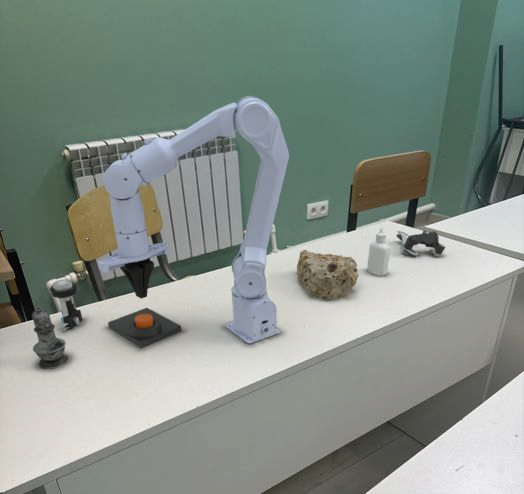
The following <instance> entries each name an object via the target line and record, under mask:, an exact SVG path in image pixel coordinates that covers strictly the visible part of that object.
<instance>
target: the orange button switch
mask: <svg viewBox="0 0 524 494" xmlns="http://www.w3.org/2000/svg"><path fill="white" fill-rule="evenodd" d="M140 314H150V315H152V317H153V326H151V327H148V328H137V327H136V324H135V317H136V316H138V315H140ZM107 326H108V329H110V330H112V331H113V332H115V333H116V334H118V335H120V336H121V337H122V338H123V339H125V340H127V341H129V342H131V343H132V344H133V345H135V346H136V347H138V348H140V349H143V348H145V347H148V346H151V345H153V344H155V343H158V342H159V341H162V340H165V339H167V338H169V337H172V336H174V335H176V334H179V333H181V332H182V325H181V324H179V323H176V322H174V321H173V320H171V319H169V318H167V317H166V316H163V315H162V314H160V313H158V312H156V311H155V310H152V309H150V308H148V307H145V308H142V309H139V310H137V311H134V312H131V313H128V314H126V315H124V316H120V317H118V318H116V319H113V320H110V321H108V322H107Z"/></svg>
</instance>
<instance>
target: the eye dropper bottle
mask: <svg viewBox="0 0 524 494" xmlns="http://www.w3.org/2000/svg"><path fill="white" fill-rule="evenodd" d="M386 238H387V233H385V232H384V228H380V229H379V232H377V233H376V235H375V241H372V242H370V244H369V248H368V258H367V268H366V270H367V272H368V273H369V274H372V275H375V276H378V277H383V276H386V275H387V274H388V270H389V261H390V252H391V247H390V246H389V245H388V244H387V243H386Z"/></svg>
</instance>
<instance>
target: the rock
mask: <svg viewBox="0 0 524 494" xmlns="http://www.w3.org/2000/svg"><path fill="white" fill-rule="evenodd" d="M357 266H358V264H357V262H356V260H355V259H354V258H353V257H352V256H343V254H340V255H338V254H332V253H327V254H326V253H325V254H322V253H317V252H316V253H315V252H311V251H308V250H307V249H303V250H300V251H299V258H298V260H297V264H296V272H297V274H296V275H297V277H296V279H297V280H298V281H297V282H298V283H299V284H300V286H302V287H305V290H306V292H307V293H309V294H310V296H311V297H314V298H315V297H316V298H318V299H321V300H323V301H324V300H325V301H331V300H336V299H337V300H338V299H341V298H344V297H346V296H347V294H348V293H349V292H350V291H351V290H353V287H355V286H356V285H357V281H358V278H359V273H358V272H359V270H358V268H357Z"/></svg>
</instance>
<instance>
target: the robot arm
mask: <svg viewBox="0 0 524 494" xmlns="http://www.w3.org/2000/svg"><path fill="white" fill-rule="evenodd" d="M235 131H237V132H238V134H240V136H241V137H242V138H243V139H245V140H246V141H247V142H248V143H249V144H250V145H252V146H253V148H254V150H255V152H256V153H257V155H258V156H259V157H260V162H259V167H258V171H257V176H256V181H255V185H254V190H253V193H252V199H251V204H250V209H249V214H248V218H247V223H246V227H245V232H244V236H243V241H242V242H241V245H240V247H239V251H238V254H237V256H235V257H234V259H233V261H232V262H231V272H232V274H233V286H232V287H231V306H232V321H233V322H230V323H229V322H228V323H227V324H225V328H226V329H228V330H229V331H231V332H232V333H233V334H235V335H236V336H237V337H239V338H240V339H241V340H243V341H244V342H246V343H247V344H248V345H249V344H253V343H257V342H259V341H261V340H264V339H268V338H270V337H274V336H275V335H277V334H280V332H281V331H280V330H279V329H278V328H277V305H276V304H275V302H274V301H273V300H272V299H271V298H270V297H269V294H268V291H267V278H266V274H265V272H266V267H267V250H268V246H269V242H270V238H271V234H272V231H273V225H274V222H275V217H276V213H277V209H278V205H279V201H280V197H281V192H282V188H283V184H284V180H285V176H286V171H287V167H288V163H289V160H290V153H289V152H290V151H289V149H288V146H287V142H286V140H285V135H284V134H283V130H282V126H281V121H280V119H279V117H278V116H277V114H276V113H275V111H273V110H272V108H271V107H270V105H269V104H268V103H267V102H265V101H264V100H262V99H261V98H259V97H256V96H254V95H247V96H244V97H242V98H240V99H238V101H237V102H234V101H233V102H232V103H228V104H226V105H224V106H222V107H220V108H217V109H215V110H213V111H211V112H210V113H208V115H206V116H203V118H201V119H199V120H198V121H196V122H195V123H193V124H192V125H190V126H188V127H187V128H185V129H184V130H183V131H180V132H179V133H177V134H176V135H174V136H173V137H171V138H170V139H166V138H164V137H161V136H157V137H155V138H153V137H151V136H149V137H148V138H146V139H145V140H144V141H143V143H144V144H143V145H142V146H140V147H138V148H137V149H135V150H133V151H132V152H130V153H129V154H128V152H124V153H123V154H121V156H120V157H121V159H118V160H116V161H114V162H112V163H111V164H110V165H109V166H108V168H106V170H105V171H104V173H103V177H102V183H103V187H104V190H105V192H107V194H108V198H109V203H110V212H111V218H112V223H113V228H114V233H115V239H116V243H117V244H116V245H117V250H118V251H117V252H116V253H114V254H112V255H110V256H108V257H106V258H103V259H100V260H97V265H98V270H99V272H100V273H102V274H107V273H110V272H111V271H113V270H116V269H120V270H121V271H122V273H123V274H124V275H125V277H126V278H127V280H128V281H129V283H130V285H131V287H132V289H133V292H134V294H135V296H136V298H138V299H141V300H142V299H144V298H147V297H148V289H149V282H150V278H151V277H152V273H153V271H154V268H155V262H154V261H152V260H151V259H152V258H156V257H158V256H161V255H170V246H169V243H166V242H158V243H153V244H149V239H148V233H147V225H146V218H145V211H144V203H143V202H142V197H141V191H140V189H139V187H141V186H148V185H149V184H151V183H153V182H154V181H156V180H158V179H160V178H161V177H163V176H165V175H167V174H168V173H170V172H171V171H173V170H176V168H177V165H178V160H179V158H180V157H182V156H184V155H185V154H187V153H189V152H191V151H193V150H196V149H197V148H198V147H201V146H202V145H204V144H206V143H208V142H210V141H211V140H213V139H215V138H217V137H225V138H236V132H235Z"/></svg>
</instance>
